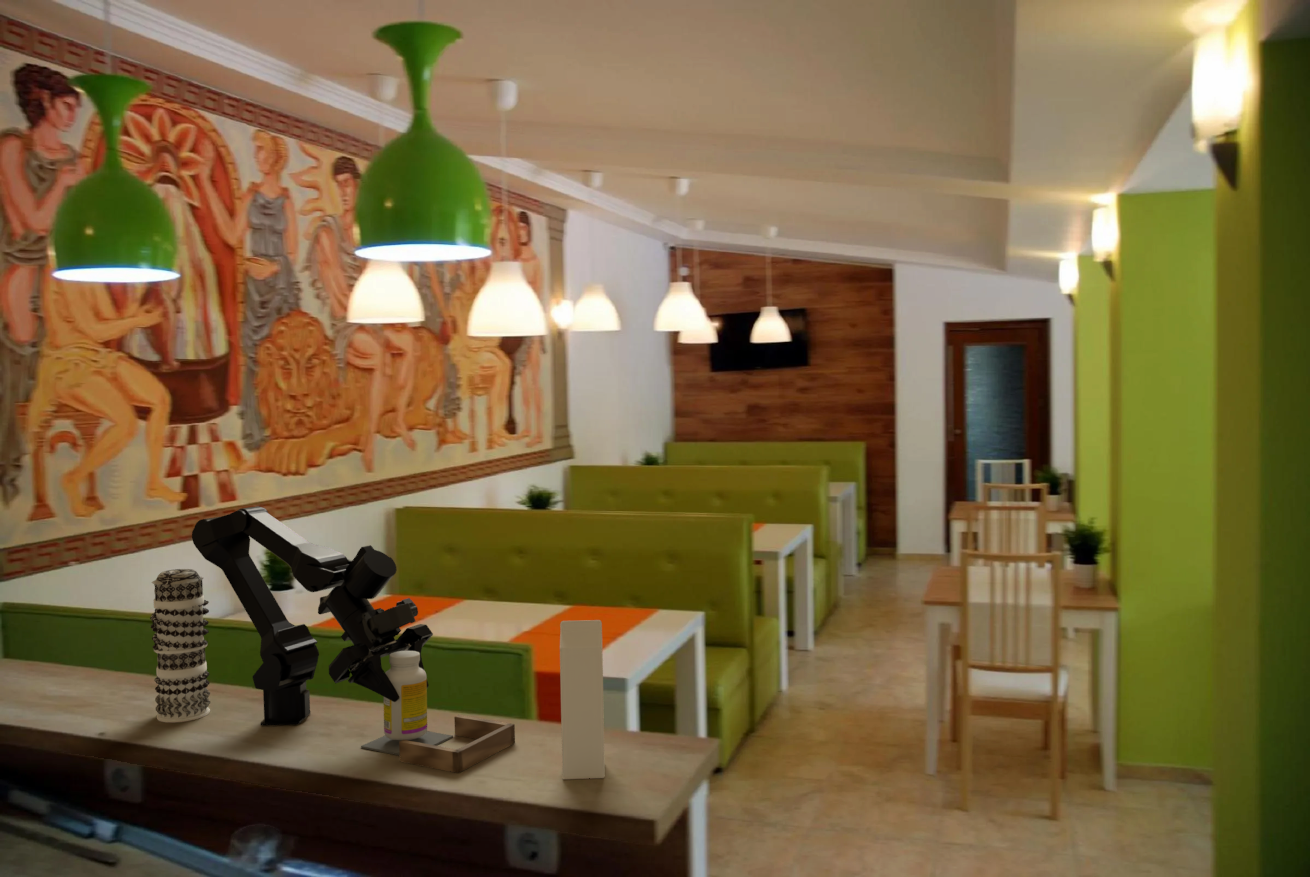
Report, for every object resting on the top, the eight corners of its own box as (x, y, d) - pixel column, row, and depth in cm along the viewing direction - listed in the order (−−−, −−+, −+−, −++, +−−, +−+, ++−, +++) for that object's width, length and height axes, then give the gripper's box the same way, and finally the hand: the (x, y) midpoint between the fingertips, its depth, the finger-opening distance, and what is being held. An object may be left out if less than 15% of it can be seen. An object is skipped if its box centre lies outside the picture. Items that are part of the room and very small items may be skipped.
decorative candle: (222, 713, 181) (216, 570, 179) (167, 727, 174) (161, 578, 173) (199, 703, 187) (194, 564, 186) (145, 715, 180) (139, 572, 179)
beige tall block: (604, 778, 148) (602, 625, 147) (561, 780, 148) (559, 626, 146) (604, 763, 154) (602, 615, 153) (563, 764, 154) (560, 616, 152)
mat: (360, 748, 162) (360, 746, 162) (404, 728, 171) (404, 726, 171) (410, 757, 157) (410, 755, 157) (453, 737, 166) (452, 735, 166)
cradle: (399, 761, 156) (399, 741, 156) (458, 733, 168) (458, 714, 168) (458, 773, 151) (458, 752, 151) (515, 743, 163) (514, 724, 163)
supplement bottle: (434, 730, 166) (434, 650, 166) (414, 743, 160) (413, 660, 160) (397, 726, 168) (396, 647, 168) (375, 739, 162) (374, 657, 161)
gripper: (340, 596, 156) (399, 678, 152) (422, 575, 173) (477, 648, 169) (303, 642, 161) (359, 723, 156) (387, 617, 177) (439, 690, 173)
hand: (412, 694), depth 163 cm, fingers closed on supplement bottle, 6 cm apart
